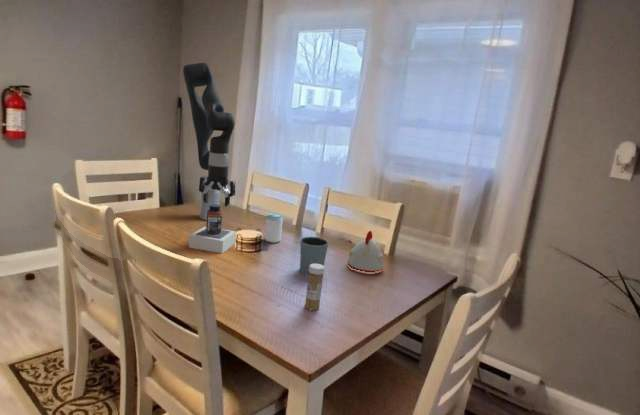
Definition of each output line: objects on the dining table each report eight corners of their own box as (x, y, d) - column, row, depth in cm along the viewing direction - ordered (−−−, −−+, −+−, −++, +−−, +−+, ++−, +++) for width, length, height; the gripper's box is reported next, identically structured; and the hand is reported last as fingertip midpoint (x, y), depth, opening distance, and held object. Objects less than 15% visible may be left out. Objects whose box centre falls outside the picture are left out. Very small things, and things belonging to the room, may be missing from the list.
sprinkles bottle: (301, 306, 126) (306, 264, 123) (311, 302, 130) (316, 261, 127) (312, 312, 123) (317, 269, 120) (322, 308, 127) (327, 266, 124)
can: (270, 244, 180) (273, 217, 177) (261, 239, 185) (263, 213, 182) (283, 242, 184) (286, 216, 182) (274, 237, 190) (277, 212, 187)
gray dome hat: (342, 269, 161) (347, 231, 158) (352, 258, 174) (357, 224, 170) (378, 277, 156) (383, 239, 153) (385, 266, 169) (391, 231, 166)
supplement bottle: (209, 229, 172) (210, 202, 170) (223, 231, 172) (224, 204, 169) (203, 233, 166) (205, 205, 164) (218, 235, 166) (219, 207, 163)
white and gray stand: (204, 237, 178) (205, 225, 177) (235, 243, 176) (236, 230, 175) (188, 247, 165) (189, 234, 163) (222, 253, 162) (223, 240, 161)
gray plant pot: (328, 270, 157) (331, 240, 155) (319, 279, 148) (323, 247, 145) (303, 264, 161) (306, 234, 158) (292, 273, 151) (296, 241, 148)
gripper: (197, 162, 160) (195, 203, 164) (232, 167, 158) (229, 209, 162) (205, 160, 167) (203, 200, 171) (239, 165, 165) (236, 205, 169)
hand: (216, 204), depth 167 cm, fingers open, 8 cm apart
